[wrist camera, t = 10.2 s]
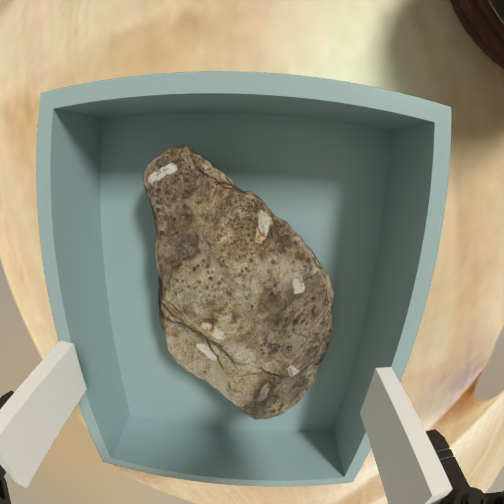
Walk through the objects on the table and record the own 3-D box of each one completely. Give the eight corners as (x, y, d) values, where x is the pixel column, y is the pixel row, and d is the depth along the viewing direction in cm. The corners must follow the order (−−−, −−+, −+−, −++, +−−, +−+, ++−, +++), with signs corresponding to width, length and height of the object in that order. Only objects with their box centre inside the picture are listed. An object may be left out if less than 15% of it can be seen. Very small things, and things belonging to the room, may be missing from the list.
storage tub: (97, 107, 18) (40, 93, 11) (398, 119, 17) (451, 107, 11) (126, 412, 25) (103, 461, 19) (339, 428, 25) (352, 482, 19)
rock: (378, 337, 21) (395, 365, 17) (264, 410, 23) (264, 442, 20) (206, 123, 17) (194, 115, 14) (91, 238, 19) (63, 253, 16)
